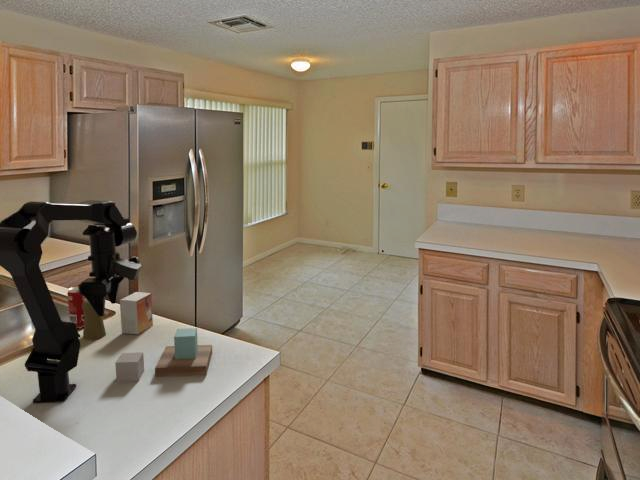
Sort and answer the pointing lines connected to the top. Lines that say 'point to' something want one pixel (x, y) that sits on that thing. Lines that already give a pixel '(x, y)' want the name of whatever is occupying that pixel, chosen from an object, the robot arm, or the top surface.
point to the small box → (136, 313)
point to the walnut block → (183, 363)
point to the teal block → (185, 343)
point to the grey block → (129, 367)
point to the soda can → (76, 306)
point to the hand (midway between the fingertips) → (107, 309)
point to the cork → (92, 323)
